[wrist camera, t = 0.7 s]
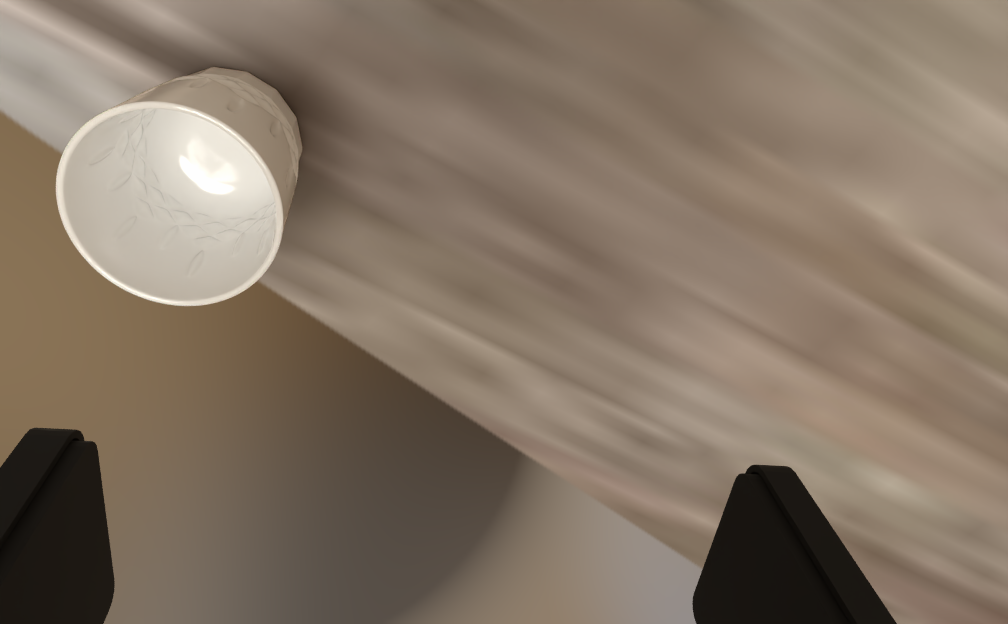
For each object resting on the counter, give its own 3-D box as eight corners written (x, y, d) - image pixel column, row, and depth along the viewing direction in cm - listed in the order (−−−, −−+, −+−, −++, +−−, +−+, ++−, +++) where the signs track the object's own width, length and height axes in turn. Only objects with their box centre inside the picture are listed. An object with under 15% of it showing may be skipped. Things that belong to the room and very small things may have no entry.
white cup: (272, 30, 34) (222, 71, 25) (340, 187, 38) (316, 271, 29) (111, 84, 35) (8, 143, 26) (194, 235, 38) (128, 331, 30)
